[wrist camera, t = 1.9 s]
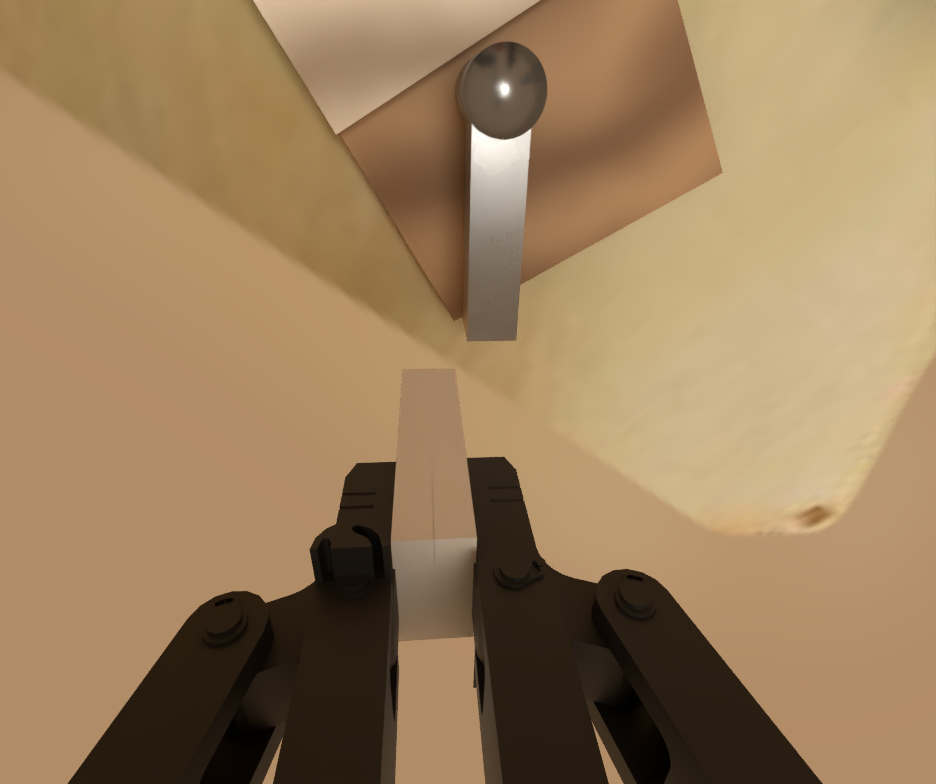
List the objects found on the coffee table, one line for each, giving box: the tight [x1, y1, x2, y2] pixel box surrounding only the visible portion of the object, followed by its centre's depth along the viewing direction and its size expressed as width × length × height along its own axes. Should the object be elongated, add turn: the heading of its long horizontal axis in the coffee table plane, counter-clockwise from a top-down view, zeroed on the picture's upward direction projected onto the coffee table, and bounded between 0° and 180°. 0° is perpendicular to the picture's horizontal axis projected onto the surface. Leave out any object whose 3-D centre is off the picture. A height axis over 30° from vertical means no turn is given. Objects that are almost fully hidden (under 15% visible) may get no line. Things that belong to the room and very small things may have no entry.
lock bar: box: [455, 41, 547, 341], centre depth 24 cm, size 12×3×5 cm, turn 179°
